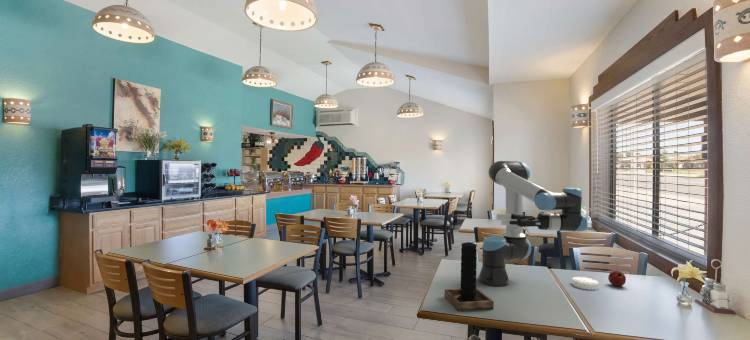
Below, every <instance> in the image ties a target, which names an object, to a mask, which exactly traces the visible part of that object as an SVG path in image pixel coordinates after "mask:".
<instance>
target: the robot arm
mask: <svg viewBox="0 0 750 340" xmlns="http://www.w3.org/2000/svg"><path fill="white" fill-rule="evenodd" d="M488 176H489V178H490V180H491V181H492V182H494V183H495V184H497V185H499V186H502V187H504V189H505V214H504V213H503V214H502V213H496V220H497V221H501V222H500V225H501V226H505V233H504V234H503V236H498V235H497V236H493V235H492V236H488V237H485V238H484V239H483V241H482V267H481V269H480V271H479V274H478V281H479V282H480V283H481V284H484V285H487V286H490V287H491V286H492V287H505V286H508V285H509V283H510V282H509V281H510V280H509V275H508V273H507V270H506V263H507V262H511V261H522V260H525V259H527V258H528V257H529V256H530V255H531V253H532V245H531V243H530V241H529V239H528V238H527V235H526V234H525V233H524V227H528V228H529V227H537V228H538V230H542V231H543V230H544V231H558V232H559V231H563V232H584V231H586V230H587V228H588V219H587V217H586V215H584V214H582V203H583V202H582V199H583V197H582V189H581V188H577V187H564V188H562V191H561V192H552V191H550V190H547V189H546V188H544V187H541V186H540V185H537V184H536V183H534V182H532V181H530V180H529V179H530V178H531V177H530V176H531V171H530V168H529V166H528V165H527V164H526V163H525V162H523V161H517V160H498V161H495V162H493V163H492V164H491V165H490V166H489V169H488ZM523 197H524V198H526V199H528V200H529V201H532V202H534V205H535V207H536V208H537V209H538V210H540V211H557V210H560V211H561V213H557V212H553V213H546V212H540V213H538V214H537V216H536V217H535V216H534V215H523V210H524V209H523V207H524V206H523V203H524V202H523Z"/></svg>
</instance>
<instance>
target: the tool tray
mask: <svg viewBox="0 0 750 340" xmlns="http://www.w3.org/2000/svg"><path fill="white" fill-rule="evenodd" d="M460 292H461V289H460V288H450V289H449V288H448V289H447V288H446V289H444V298H445V299H446V300H447V301H448V302H449V303H450V305H452V306H453V307H454V308H455V310H457V312H469V311H472V312H473V311H486V310H494V300H493V299H492V298H490V297H489V296H488V295H487V294H485V293H484V292H483V291H481V290H480V289H479V288H477V287H476V298H477V299H478V300H479V301H470V302H459V301H458V300H457V297H459V296H460V295H461V294H460Z"/></svg>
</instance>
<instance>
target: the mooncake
mask: <svg viewBox="0 0 750 340" xmlns="http://www.w3.org/2000/svg"><path fill="white" fill-rule="evenodd" d="M571 284H572V286H574V287H576V288H579V289H583V290H588V291H595V290H599V286H600V285H599V284H600V282H599V281H598V280H596V279H594V278H590V277H587V276H574V277H572V278H571Z"/></svg>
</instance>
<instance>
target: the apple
mask: <svg viewBox="0 0 750 340" xmlns="http://www.w3.org/2000/svg"><path fill="white" fill-rule="evenodd" d="M607 280H608V282H609V283H610V284H611V285H613V286H615V287H622V286H625V283H626V282H627V277H626V275H625V274H624V273H623V272H621V270H613V271H610V273H609V274H608V277H607Z"/></svg>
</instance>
